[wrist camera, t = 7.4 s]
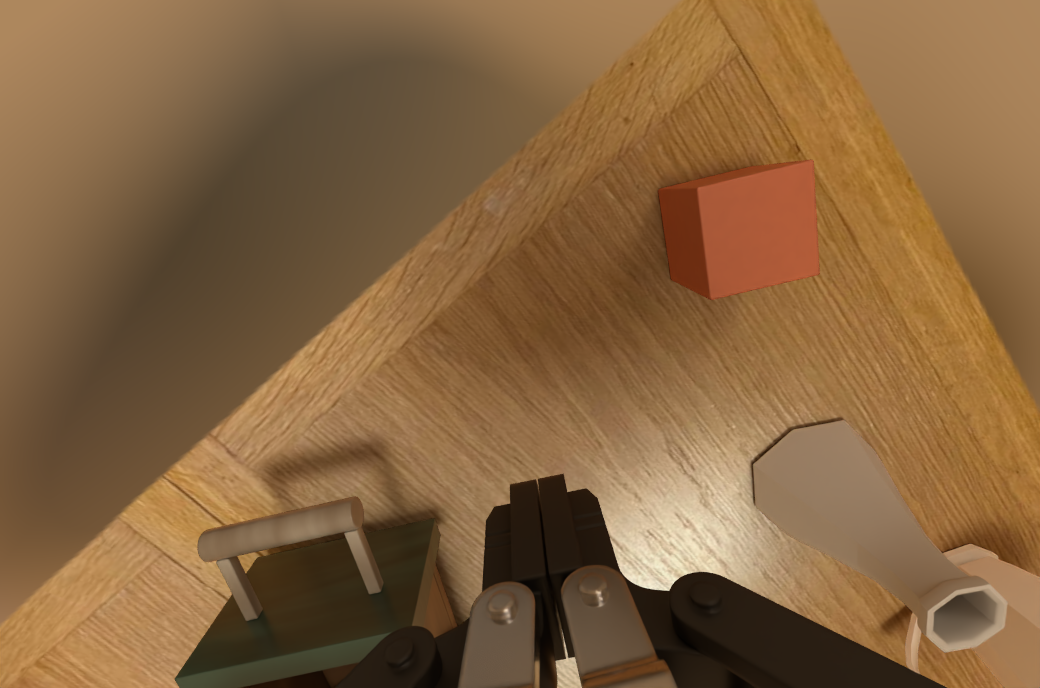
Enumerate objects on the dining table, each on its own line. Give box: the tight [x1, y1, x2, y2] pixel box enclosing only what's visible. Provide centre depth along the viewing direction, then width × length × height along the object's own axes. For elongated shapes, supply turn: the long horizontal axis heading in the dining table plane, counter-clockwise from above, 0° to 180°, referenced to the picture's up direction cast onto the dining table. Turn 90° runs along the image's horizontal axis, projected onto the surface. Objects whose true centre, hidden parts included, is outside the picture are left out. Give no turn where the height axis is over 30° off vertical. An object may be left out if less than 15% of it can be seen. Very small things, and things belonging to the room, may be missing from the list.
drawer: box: [175, 496, 457, 688], centre depth 25 cm, size 17×10×7 cm, turn 13°
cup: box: [905, 544, 1040, 688], centre depth 27 cm, size 7×10×8 cm
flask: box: [753, 420, 1008, 653], centre depth 24 cm, size 7×7×10 cm
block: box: [658, 160, 820, 300], centre depth 22 cm, size 4×4×5 cm
